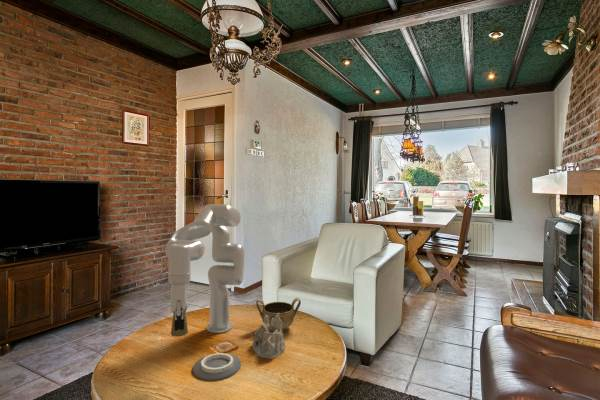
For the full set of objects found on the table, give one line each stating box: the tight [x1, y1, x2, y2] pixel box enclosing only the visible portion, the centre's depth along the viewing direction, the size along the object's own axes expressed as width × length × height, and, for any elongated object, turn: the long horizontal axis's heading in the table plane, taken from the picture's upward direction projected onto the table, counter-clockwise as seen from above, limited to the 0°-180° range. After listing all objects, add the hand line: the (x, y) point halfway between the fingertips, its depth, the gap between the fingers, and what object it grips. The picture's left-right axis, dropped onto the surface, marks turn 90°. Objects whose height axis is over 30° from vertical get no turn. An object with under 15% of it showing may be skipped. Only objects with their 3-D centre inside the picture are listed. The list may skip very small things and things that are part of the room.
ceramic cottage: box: [251, 313, 286, 360], centre depth 143 cm, size 16×16×15 cm
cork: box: [170, 304, 189, 338], centre depth 121 cm, size 6×6×11 cm
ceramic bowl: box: [255, 297, 302, 331], centre depth 165 cm, size 22×17×15 cm
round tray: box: [192, 352, 242, 381], centre depth 128 cm, size 18×18×2 cm
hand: (179, 326), depth 121 cm, fingers closed on cork, 4 cm apart
